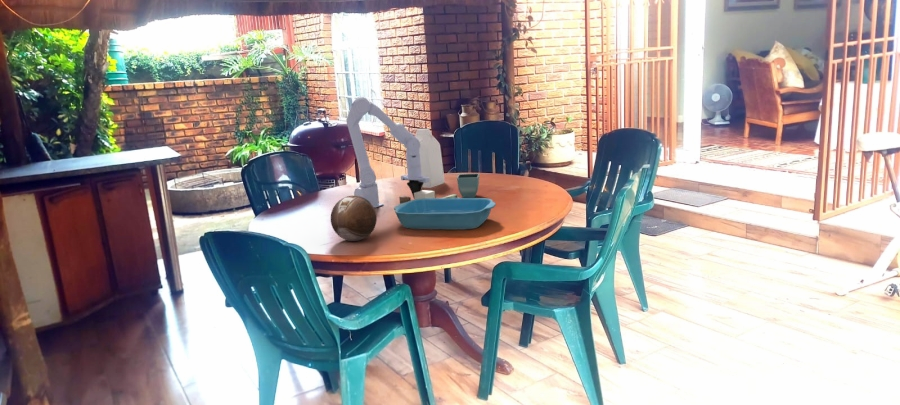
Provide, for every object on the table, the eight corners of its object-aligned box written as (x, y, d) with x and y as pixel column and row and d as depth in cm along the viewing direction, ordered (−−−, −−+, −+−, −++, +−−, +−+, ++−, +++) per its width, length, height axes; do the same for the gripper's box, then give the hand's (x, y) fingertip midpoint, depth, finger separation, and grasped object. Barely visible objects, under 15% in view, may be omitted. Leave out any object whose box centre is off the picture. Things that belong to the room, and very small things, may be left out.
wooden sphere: (326, 247, 205) (321, 202, 202) (341, 234, 220) (337, 192, 216) (371, 246, 203) (367, 200, 199) (383, 233, 217) (379, 190, 214)
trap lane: (427, 212, 243) (426, 203, 242) (390, 206, 257) (389, 198, 256) (468, 199, 260) (468, 191, 259) (431, 194, 274) (431, 186, 273)
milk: (444, 182, 299) (440, 127, 293) (431, 187, 290) (427, 130, 284) (423, 181, 305) (419, 127, 300) (409, 186, 296) (405, 130, 290)
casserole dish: (385, 231, 221) (383, 211, 219) (408, 215, 241) (407, 197, 240) (487, 233, 209) (486, 212, 208) (503, 216, 230) (502, 197, 228)
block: (426, 205, 255) (425, 194, 254) (414, 203, 259) (413, 193, 258) (435, 201, 260) (434, 191, 259) (424, 200, 263) (423, 190, 262)
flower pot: (480, 194, 269) (479, 173, 267) (479, 198, 260) (478, 177, 258) (459, 195, 270) (458, 174, 268) (458, 199, 261) (456, 178, 259)
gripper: (433, 165, 257) (435, 198, 260) (408, 163, 267) (411, 194, 270) (421, 168, 252) (424, 201, 255) (396, 166, 262) (399, 198, 265)
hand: (416, 198), depth 262 cm, fingers closed
